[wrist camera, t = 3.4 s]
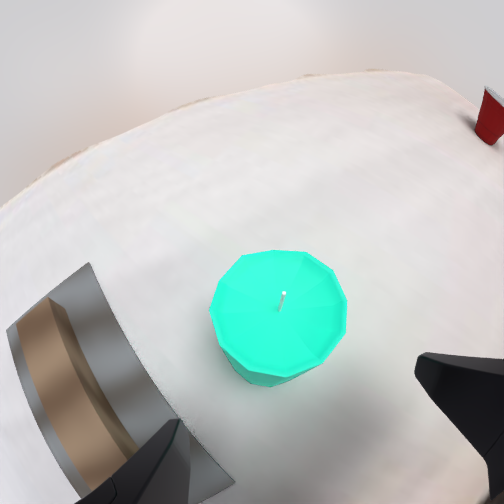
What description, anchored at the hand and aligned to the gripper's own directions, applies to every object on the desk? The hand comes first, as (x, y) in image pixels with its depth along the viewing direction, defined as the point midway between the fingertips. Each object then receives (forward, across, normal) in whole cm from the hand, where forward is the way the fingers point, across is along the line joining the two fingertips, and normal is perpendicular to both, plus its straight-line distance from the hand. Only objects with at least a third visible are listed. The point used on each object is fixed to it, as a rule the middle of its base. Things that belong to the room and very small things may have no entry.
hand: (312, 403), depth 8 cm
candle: (+11, 0, -6) cm, 13 cm away
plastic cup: (+32, +59, +14) cm, 68 cm away
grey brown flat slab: (+9, -16, -8) cm, 20 cm away
